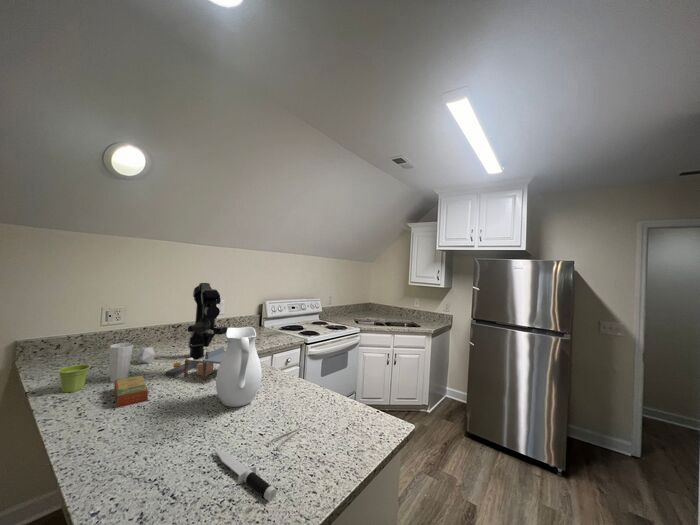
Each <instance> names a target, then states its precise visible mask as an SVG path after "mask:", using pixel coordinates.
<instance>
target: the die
mask: <svg viewBox="0 0 700 525" xmlns="http://www.w3.org/2000/svg"><path fill="white" fill-rule="evenodd" d="M134 357H135V360H136V362H137V364H138V365H142V364H143V365H144V364H150V363H151V362H152V361H153V360H154V358H155V357H156V352H155V350H154V347H153V346H149V347H141V348H140V349H139V350H138V351H137V353H135V354H134Z"/></svg>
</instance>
